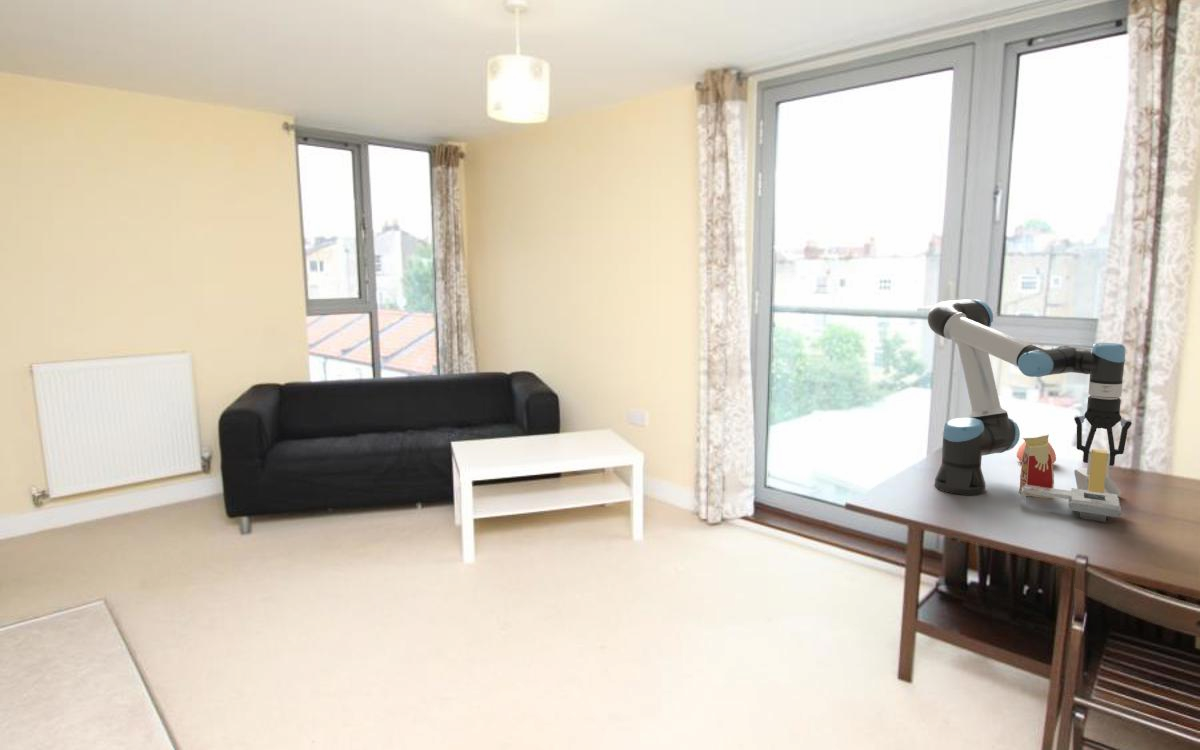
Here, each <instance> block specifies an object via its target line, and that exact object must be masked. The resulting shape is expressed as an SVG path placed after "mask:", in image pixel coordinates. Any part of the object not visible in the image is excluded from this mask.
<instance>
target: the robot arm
mask: <svg viewBox="0 0 1200 750" xmlns="http://www.w3.org/2000/svg"><path fill="white" fill-rule="evenodd" d="M993 321H994V314H993V311H992V308H991V307H990V306H989V304H987V303H986V302H984V301H982V300H980V299H973V298H972V299H971V298H967V299H958V300H957V299H955V300H945V301H940V302H938V303H936V304H935V305H934V306H933V307H932V308H931V309H930V310H929V312H928V314H927V324H928V326H929V328H930V329H931V331H932V332H934V334H937V335H938V336H941V337H942V338H945V339H947V340H951V341H952V342H953V343H954V344H956V345H957V347H958V352H959V356H960V360H961V361H960V362H961V365H962V371H963V375H964V378H965V384H966V389H967V392H968V398H969V401H970V406H971V410H972V411H971V413H970V415H969V416H968V417H957V418H950V419H949V420H947V421H946V422H945V423H944V425H943V431H942V451H941V452H942V454H941V464H940V467H939V469H938V471H937V474H936V476H935V478H934V486H935V488H937V487H938V488H939V489H938V488H937V489H938V490H940V489H942V490H941V491H943V490H944V491H943V492H945V491H947V492H946V493H949V492H951V493H950V494H954V493H955V494H954V495H960V494H962V495H963V496H978V495H982V494H985V492H986V491H987V489H986V485H987V484H986V480H985V477H984V474H983V471H982V456H988V455H993V454H1002V453H1005V452H1007V451H1011V450H1012V449H1014V448H1015V447H1016V445H1017V444H1018V443H1019V441H1020V437H1021V432H1020V431H1021V430H1020V428H1019V425H1018V423H1017V422H1015V421H1014V420H1013V419H1012V418H1010V417H1009V414H1008V411H1007V410H1006V409H1004V408H1002V406H1001V403H1000V399H999V394H998V390H997V384H996V380H995V376H994V372H993V367H992V362H991V359H990V355H991V356H994V357H995V358H998V359H1000V360H1003V361H1004V362H1007V363H1009V364H1011V365H1013V366H1016V367H1017V368H1018V370H1019V371H1020V372H1021V374H1023V375H1024V376H1026V377H1034V378H1035V377H1036V378H1040V377H1046V376H1051V375H1052V376H1053V375H1060V374H1067V373H1068V374H1069V373H1075V374H1084V375H1089V384H1088V395H1089V396H1088V397H1087V405H1086V411H1085V412H1084V414H1082V415H1081V414H1080V415H1075V416H1074V422H1075V425H1076V449H1077V450H1078V451H1079V450H1080V452H1081V451H1082V452H1083V455H1082V462H1083V463H1084V464H1087V465H1086V468H1087V475H1090V469H1091V458H1092V450H1091V446H1092V444H1093V440H1094V438H1095V434H1096V432H1097V429H1104V430H1106V435H1107V440H1108V449H1109V453H1108V452H1107V462H1106V472H1105V477H1108V476H1109V473H1110V466H1111V467H1114V466H1115V462H1116V461H1115V460H1116V456H1117V455H1123V454H1124V452H1125V449H1126V448H1125V447H1126V442H1127V437H1128V431H1129V429H1130V427H1131V426H1132V425H1133V424H1132V421H1131V420H1130V419H1125V418H1123V417H1122V415H1121V413H1120V411H1121V402H1122V399H1121V398H1120V397H1122V392H1123V391H1122V390H1123V377H1124V370H1125V369H1124V368H1125V362H1126V347H1125V345H1123V344H1122V343H1118V342H1117V343H1116V342H1115V343H1114V342H1095V343H1094V344H1093V345H1092V348H1083V347H1078V346H1077V347H1075V346H1069V345H1055V346H1052V347H1051V348H1050V349H1049V348H1048V349H1044V348H1041V347H1039V346H1036V345H1033V344H1031V343H1029V342H1027V341H1024V340H1022V339H1019V338H1017V337H1014V336H1011V335H1009V334H1007V333H1005V332H1003V331H1000V330H997V329H995V328H993V327H991V326H992V323H993ZM1085 419H1086V420H1087V422H1088V424H1090V425H1091V426H1090V429H1089V431H1088V435H1087V438H1086V442H1085V444H1084V445H1083V424H1084V422H1085ZM1118 423H1120V426H1121V430H1120V434H1119V435H1120V436H1119V441H1118V442H1119V443H1118V447H1117V448H1115V439H1114V434H1113V433H1114V432H1113V427H1114V426H1116V425H1117V424H1118ZM1090 450H1091V451H1090ZM962 495H961V496H962Z"/></svg>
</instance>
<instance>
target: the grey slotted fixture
mask: <svg viewBox="0 0 1200 750" xmlns="http://www.w3.org/2000/svg"><path fill="white" fill-rule="evenodd" d="M1026 493H1029V494H1035V495H1042V496H1049V497H1052V498H1058V499H1064V500H1068V510H1070V511H1075V512H1076V511H1077V512H1079V518H1080V519H1085V520H1091V521H1096V522H1097V521H1099V522H1102V523H1104V522H1105V523H1106V521H1107V517H1113V518H1121V515H1122V514H1121V513H1122V508H1121V503H1120V502H1121V501H1120V498H1119V496H1118V497H1117V494H1110V493H1108V492H1104V493H1098V492H1091V491H1089V490H1082V489H1078V488H1074V487H1073V488H1072V487H1071V490H1067V489H1060V488H1055V487H1054V488H1047V487H1040V486H1033V485H1026V484H1025V486H1022V490H1021V493H1020V500H1021V501H1026V498H1027V496H1026Z"/></svg>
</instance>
